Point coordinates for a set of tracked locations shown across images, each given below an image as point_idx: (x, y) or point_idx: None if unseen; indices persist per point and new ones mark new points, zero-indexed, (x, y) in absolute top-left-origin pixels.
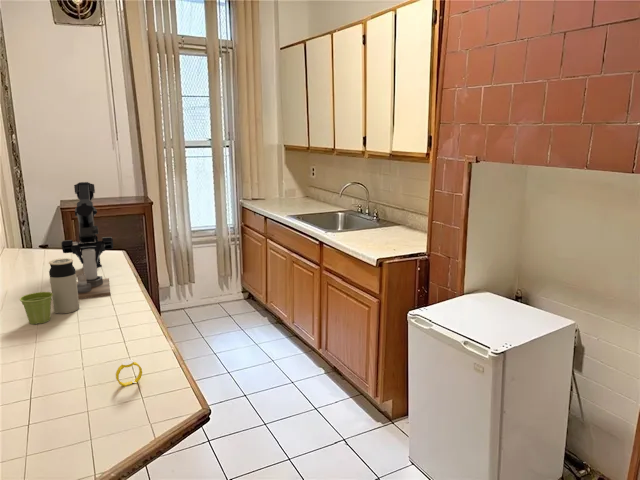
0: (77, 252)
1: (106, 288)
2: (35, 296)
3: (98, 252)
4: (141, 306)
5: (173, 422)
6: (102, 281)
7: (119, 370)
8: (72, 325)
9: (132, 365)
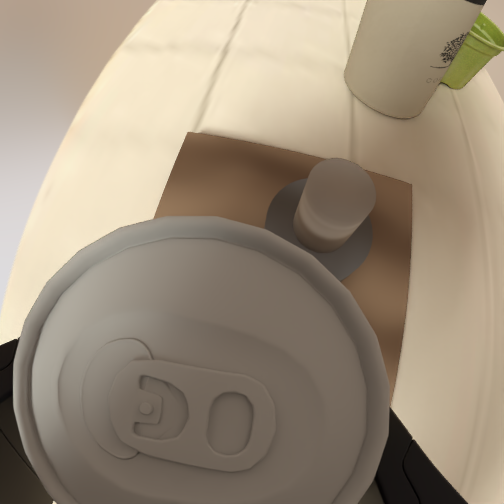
0: (443, 486)
1: (179, 203)
2: (485, 48)
3: (8, 351)
4: (163, 15)
5: None
6: None
7: None
8: (358, 9)
9: None
